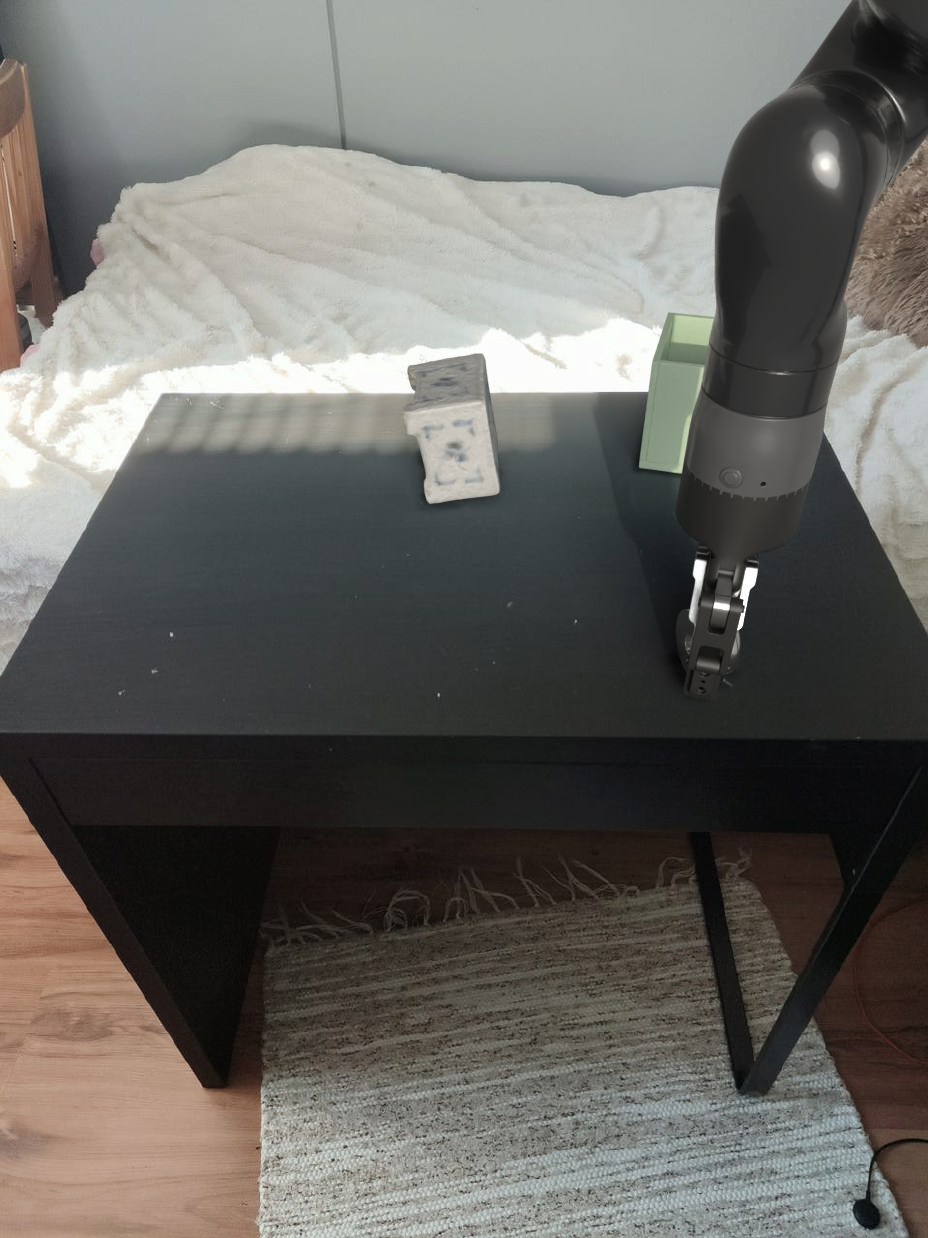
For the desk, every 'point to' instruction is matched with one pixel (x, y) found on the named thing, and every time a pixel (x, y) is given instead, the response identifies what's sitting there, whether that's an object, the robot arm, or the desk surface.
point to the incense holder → (454, 427)
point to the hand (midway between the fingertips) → (704, 655)
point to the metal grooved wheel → (685, 638)
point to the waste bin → (674, 390)
